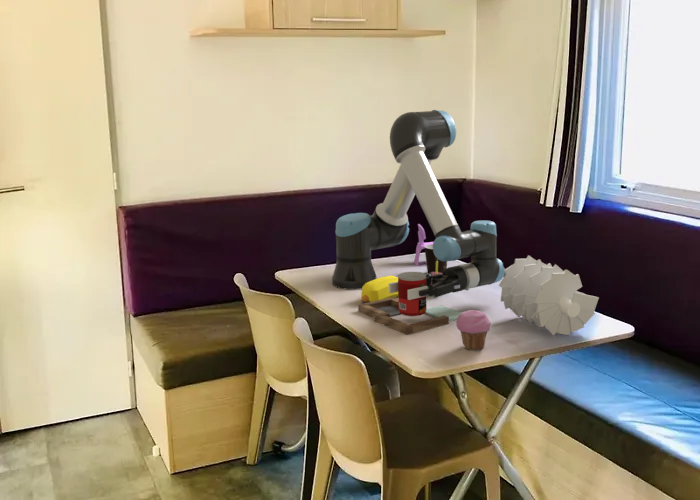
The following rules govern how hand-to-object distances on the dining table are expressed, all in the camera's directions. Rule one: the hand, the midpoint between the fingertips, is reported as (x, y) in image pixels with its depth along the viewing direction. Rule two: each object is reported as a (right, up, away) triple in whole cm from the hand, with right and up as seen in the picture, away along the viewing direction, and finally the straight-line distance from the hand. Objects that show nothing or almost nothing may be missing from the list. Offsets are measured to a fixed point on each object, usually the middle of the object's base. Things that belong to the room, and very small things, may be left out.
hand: (398, 291), depth 218 cm
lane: (+1, -8, +9) cm, 12 cm away
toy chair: (+15, +6, +72) cm, 74 cm away
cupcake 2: (+18, -14, -17) cm, 28 cm away
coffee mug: (+16, +3, +55) cm, 58 cm away
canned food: (+4, -6, +4) cm, 9 cm away
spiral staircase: (+41, -10, -1) cm, 42 cm away
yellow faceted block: (-3, -4, +29) cm, 30 cm away
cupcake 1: (+14, -3, +33) cm, 35 cm away
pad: (+14, -7, +11) cm, 20 cm away
